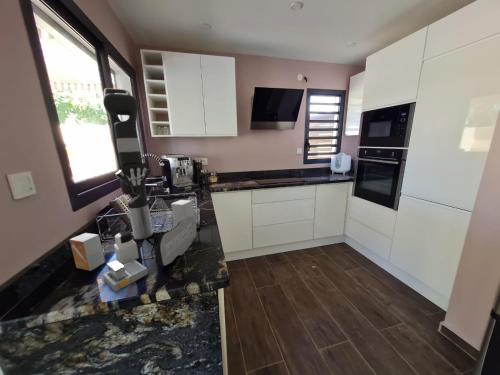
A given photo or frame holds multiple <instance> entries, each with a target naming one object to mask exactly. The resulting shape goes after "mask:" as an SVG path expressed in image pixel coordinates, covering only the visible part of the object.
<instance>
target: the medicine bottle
mask: <svg viewBox="0 0 500 375" xmlns="http://www.w3.org/2000/svg"><path fill="white" fill-rule="evenodd" d="M132 234H133V233H132V232H131V231H121V232H119V233H116V234H115V236H114V240H115V243H114V244H113V247H114V252H115V256H116V261H118V262H119V263H120V264H122V265H124V264H126V263H128V262H131V261H133V260H137V259H139V258H140V257H139V251H138V245H137V242H135V241H134V238H133V235H132Z"/></svg>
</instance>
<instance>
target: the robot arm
mask: <svg viewBox="0 0 500 375" xmlns="http://www.w3.org/2000/svg"><path fill="white" fill-rule="evenodd" d="M103 89H104V90H103V96H104V97H103V99H102V104H103V107H104V109H105V110H106V112H107V114H108V118H109V123H110V128H111V135H112V141H113V147H114V152H115V156H116V160H117V161H116V162H117V167H118V171H117V172H115V173H114V176H115V177H116V178H117V179H118V180H119V184H120V189H121V192H122V193H123V195H125V196H127V195H128V196H129V195H134V196H135V195H136V197H135V198H133V199H130V200H129V201H128V202H127V207H128V212H129V218H130V224H131V228H132V234H133V235H132V236H133V239H135V240H144V239H147V238H149V237H151V236H152V235H153V226H152V220H151V214H150V207H149V202H148V195H147V187H146V180H147V178H148V176H149V174H150V173H151V170H150V169H148V168H147V167H145V164H144V163H143V156H142V152H141V150H142V149H141V145H140V141H139V136H138V129H137V117H138V110H139V103H138V100H137V99H136V97H134V96H133V95H132V94H131V93H130V92H129V90H127V89H121V88H113V87H112V88H111V87H105V88H103ZM119 116H128V119H126V120H123V121H122V120H121V119H120V117H119Z"/></svg>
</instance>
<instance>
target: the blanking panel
mask: <svg viewBox="0 0 500 375" xmlns="http://www.w3.org/2000/svg"><path fill="white" fill-rule="evenodd" d="M123 265H124V264H120V263H119V262H118V260H117V259H116V260H113V261H111V262H108V263H107V269H108V272H109V274H110V278H111V279H112V280H113V281H114V282H115V283H116V282H118V281H120V280H122V279H124V278H126V273H125V268H124V266H123Z"/></svg>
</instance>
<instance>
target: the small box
mask: <svg viewBox="0 0 500 375" xmlns="http://www.w3.org/2000/svg"><path fill="white" fill-rule="evenodd" d="M68 241H69V244H70V247H71V251H72V255H73V259H74V263H75V266H76V268H77V269H80V270H86V271H89V272H92V270H95V269H96V268H98V267H99V266H101V265H103V264H105V263H106V260H105V256H104V250H103V248H102V247H103V246H102V243H101V239H100V235H99V234H96V233H88V232H84V233H82V234H80V235H77V236H74V237H72V238H70V239H69V240H68Z"/></svg>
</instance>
